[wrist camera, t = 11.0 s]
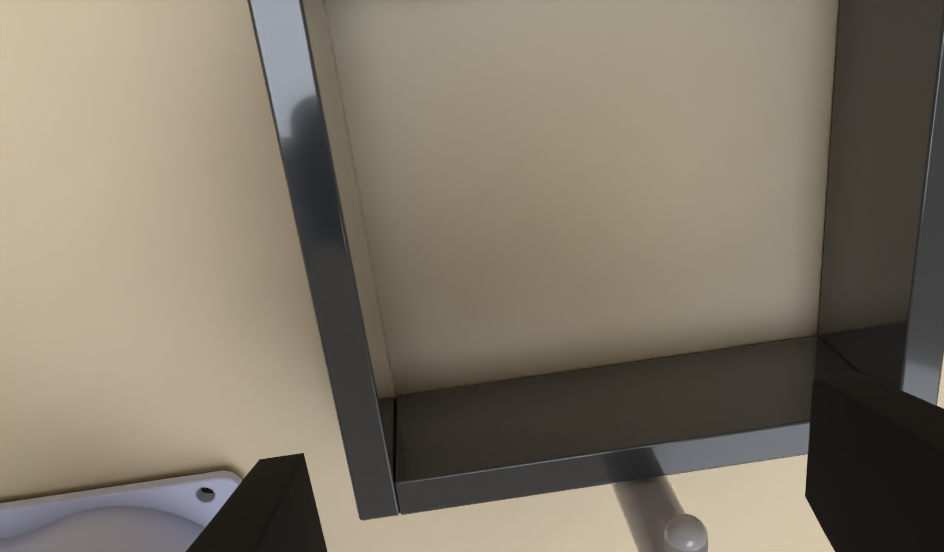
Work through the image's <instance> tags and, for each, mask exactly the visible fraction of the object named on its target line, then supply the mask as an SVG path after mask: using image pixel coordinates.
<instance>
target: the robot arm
mask: <svg viewBox="0 0 944 552" xmlns="http://www.w3.org/2000/svg"><path fill="white" fill-rule="evenodd" d="M203 487H205V488H210V489H212V490H213V492H214V493H211V494H209V493H205V492H203V491H201V489H200V488H203ZM805 497H806V499H807V500H808V502H809V504H810V506H811V508H812V510H813V512H814V514H815V516H816V518H817V520H818V521H819V523H820V525H821V527H822V529H823V531H824V533H825V534H826V536H827V538H828V540H829V541H830V543H831V545H832V547H833V548H834V550H835V552H944V409H943V408H941V407H938V406H936V405H934V404H932V403H929V402H927V401H925V400H923V399H920V398H918V397H916V396H913V395H911V394H909V393H906V392H904V391H902V390H899V389H897V388H895V387H892V386H890V385H887V384H885V383H883V382H880V381H878V380H875V379H872V378H870V377H867V376H864V375H861V374H858V373H848V374H841V375H834V376H827V377H820V378H814V379H813V383H812V398H811V414H810V429H809V445H808V460H807V476H806V491H805ZM0 552H327V548H326V544H325V540H324V536H323V532H322V528H321V523H320V519H319V515H318V511H317V507H316V503H315V499H314V494H313V490H312V486H311V482H310V478H309V474H308V470H307V466H306V461H305V457H304V453H301V454H294V455H287V456H280V457H274V458H267V459H260V460H259V461H258V462H257V463H256V465H255V466H254V467H253V468H252V469H251V471H250V472H249V473H248V474H247V476H246V477H245V478H244V479H243V481H242V480H241V478H240V477H239V476H238V475H237V474H235V473H233V472H230V471H216V472H209V473H202V474H196V475H189V476H182V477H175V478H168V479H161V480H155V481H148V482H141V483H134V484H127V485H120V486H114V487H107V488H100V489H93V490H86V491H80V492H73V493H66V494H59V495H52V496H45V497H39V498H32V499H25V500H18V501H11V502H5V503H0Z"/></svg>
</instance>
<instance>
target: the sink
mask: <svg viewBox="0 0 944 552" xmlns="http://www.w3.org/2000/svg"><path fill="white" fill-rule="evenodd" d="M247 2H248V6H249V11H250V16H251V20H252V25H253V30H254V34H255V39H256V43H257V48H258V53H259V57H260V62H261V66H262V71H263V76H264V80H265V85H266V90H267V94H268V99H269V103H270V108H271V113H272V117H273V122H274V127H275V131H276V136H277V140H278V145H279V150H280V154H281V159H282V163H283V168H284V173H285V177H286V182H287V187H288V191H289V196H290V200H291V205H292V210H293V214H294V219H295V223H296V228H297V233H298V237H299V242H300V247H301V251H302V256H303V260H304V265H305V270H306V274H307V279H308V284H309V288H310V293H311V297H312V302H313V307H314V311H315V316H316V320H317V325H318V330H319V334H320V339H321V344H322V348H323V353H324V357H325V362H326V367H327V371H328V376H329V380H330V385H331V390H332V394H333V399H334V404H335V408H336V413H337V417H338V422H339V427H340V431H341V436H342V441H343V445H344V450H345V454H346V459H347V464H348V468H349V473H350V477H351V482H352V487H353V491H354V496H355V501H356V505H357V510H358V514H359V518H360V520H369V519H376V518H382V517H389V516H396V515H399V513H401V515H404V514H411V513H418V512H424V511H431V510H438V509H444V508H451V507H458V506H464V505H471V504H478V503H485V502H491V501H498V500H505V499H511V498H518V497H525V496H531V495H538V494H545V493H551V492H558V491H565V490H571V489H578V488H585V487H591V486H598V485H605V484H612V487H613V489H614V492H615V494H616V497H617V499H618V502H619V504H620V507H621V509H622V512H623V514H624V517H625V519H626V522H627V524H628V527H629V529H630V532H631V534H632V537H633V539H634V542H635V544H636V547H637V549H638V552H708V534H707V530H706V528H705V526H704V524H703V523H702V521H700V520H699V519H698V518H697V517H695V516H693V515H690V514H685V512H684V510H683V508H682V506H681V504H680V502H679V500H678V498H677V496H676V494H675V492H674V490H673V488H672V486H671V484H670V482H669V481H668V479H667V477H666V475H672V474H678V473H685V472H692V471H698V470H705V469H712V468H718V467H725V466H732V465H739V464H745V463H752V462H759V461H765V460H772V459H779V458H785V457H792V456H799V455H805V454H808V445H809V429H810V414H811V398H812V383H813V379H814V378H820V377H827V376H834V375H841V374H848V373H858V374H861V375H864V376H867V377H870V378H872V379H875V380H878V381H880V382H883V383H885V384H887V385H890V386H892V387H895V388H897V389H899V390H902V391H904V392H906V393H909V394H911V395H913V396H916V397H918V398H920V399H923V400H925V401H927V402H929V403H932V404H934V405H936V406H937V399H938V392H939V385H940V377H941V370H942V363H943V356H944V0H840V9H839V25H838V40H837V55H836V70H835V85H834V100H833V115H832V131H831V146H830V161H829V176H828V191H827V206H826V222H825V237H824V252H823V267H822V282H821V297H820V313H819V328H818V336H810V337H803V338H796V339H789V340H782V341H775V342H768V343H761V344H755V345H748V346H741V347H734V348H727V349H720V350H713V351H706V352H699V353H692V354H685V355H678V356H672V357H665V358H658V359H651V360H644V361H637V362H630V363H623V364H616V365H609V366H602V367H595V368H588V369H582V370H575V371H568V372H561V373H554V374H547V375H540V376H533V377H526V378H519V379H512V380H505V381H499V382H492V383H485V384H478V385H471V386H464V387H457V388H450V389H443V390H436V391H429V392H422V393H415V394H409V395H402V396H397V397H395V392H394V386H393V380H392V375H391V369H390V364H389V358H388V353H387V347H386V342H385V336H384V330H383V325H382V319H381V314H380V308H379V303H378V297H377V292H376V286H375V280H374V275H373V269H372V264H371V258H370V253H369V247H368V242H367V236H366V230H365V225H364V219H363V214H362V208H361V203H360V197H359V191H358V186H357V180H356V175H355V169H354V164H353V158H352V153H351V147H350V141H349V136H348V130H347V125H346V119H345V114H344V108H343V103H342V97H341V91H340V86H339V80H338V75H337V69H336V64H335V58H334V53H333V47H332V41H331V36H330V30H329V25H328V19H327V14H326V8H325V2H324V0H247Z"/></svg>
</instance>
